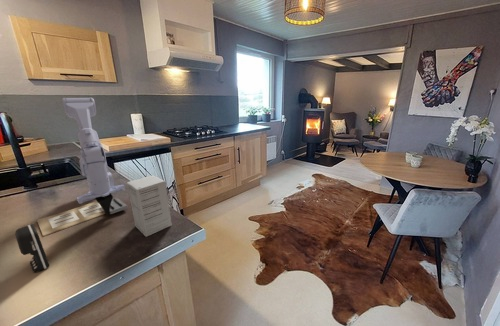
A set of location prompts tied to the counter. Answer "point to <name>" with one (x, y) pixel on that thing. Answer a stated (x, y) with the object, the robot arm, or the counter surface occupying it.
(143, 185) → the supplement box
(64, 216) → the label board
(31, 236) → the battery charger
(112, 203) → the grey slotted block
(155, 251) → the counter surface
